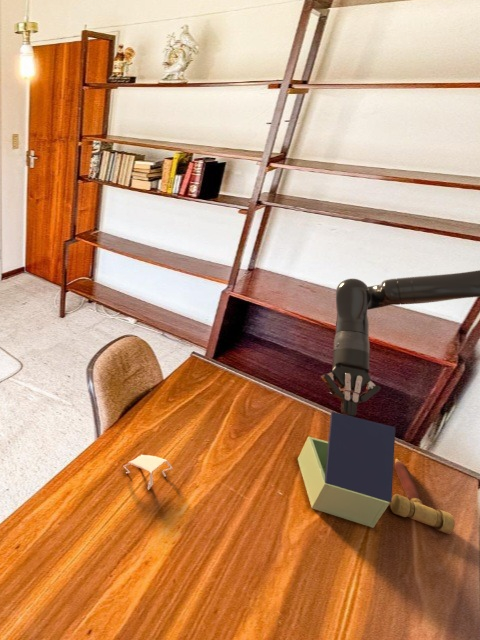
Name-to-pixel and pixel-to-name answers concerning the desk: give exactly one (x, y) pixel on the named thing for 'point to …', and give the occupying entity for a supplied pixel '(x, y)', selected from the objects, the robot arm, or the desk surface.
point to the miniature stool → (148, 465)
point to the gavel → (418, 504)
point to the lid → (360, 456)
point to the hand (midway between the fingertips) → (348, 416)
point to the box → (335, 489)
